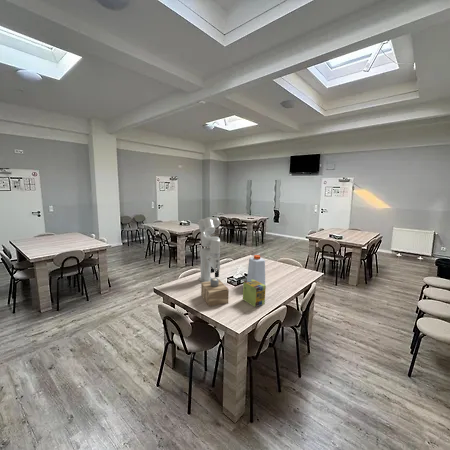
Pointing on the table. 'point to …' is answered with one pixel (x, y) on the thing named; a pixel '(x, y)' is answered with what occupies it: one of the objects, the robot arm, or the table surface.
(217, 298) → the wooden box
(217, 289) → the box lid
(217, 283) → the grey rounded piece
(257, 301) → the protein box
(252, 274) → the plastic bottle
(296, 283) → the table surface
